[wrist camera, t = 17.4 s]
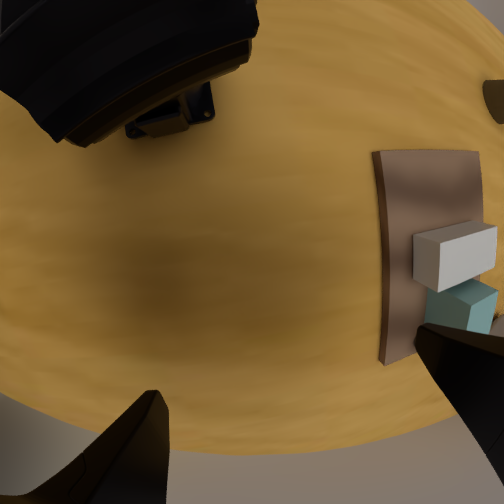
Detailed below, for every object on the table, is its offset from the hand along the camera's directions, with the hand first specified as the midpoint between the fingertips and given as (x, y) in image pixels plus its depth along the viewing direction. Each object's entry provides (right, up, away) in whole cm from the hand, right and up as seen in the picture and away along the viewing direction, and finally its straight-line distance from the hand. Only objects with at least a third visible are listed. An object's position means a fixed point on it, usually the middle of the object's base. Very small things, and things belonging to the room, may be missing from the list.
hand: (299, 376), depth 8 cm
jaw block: (+18, -1, +14) cm, 23 cm away
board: (+17, +4, +14) cm, 22 cm away
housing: (+17, +4, +13) cm, 22 cm away
